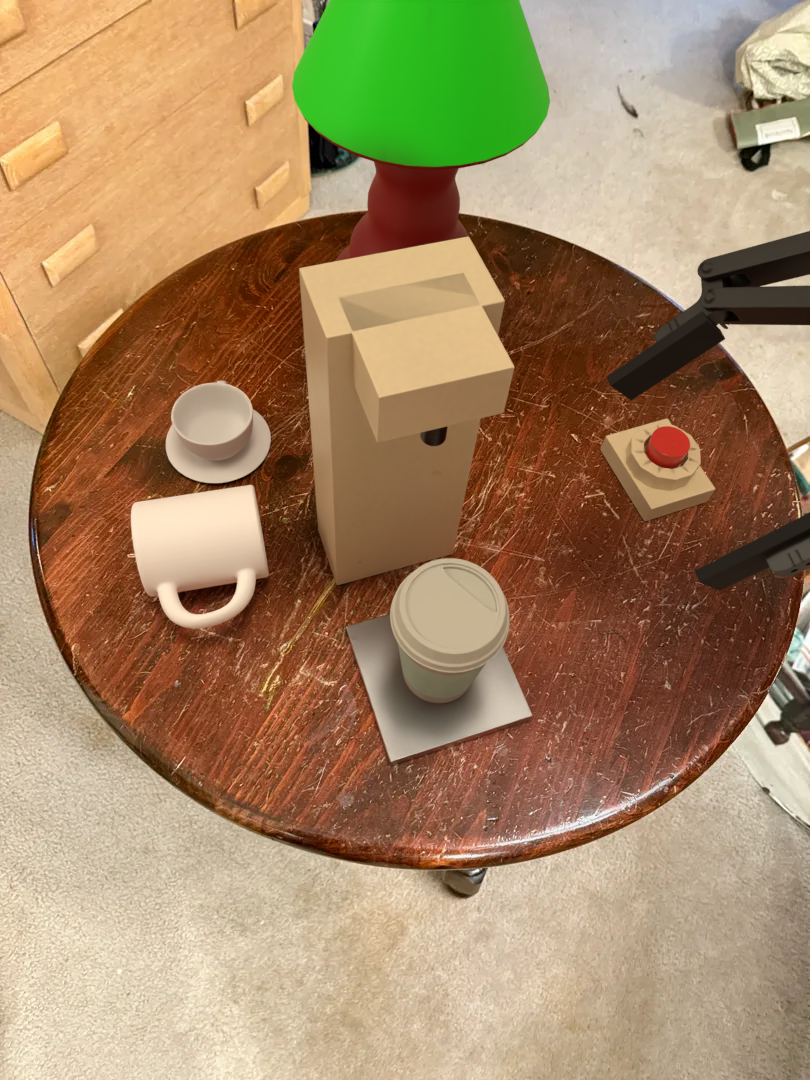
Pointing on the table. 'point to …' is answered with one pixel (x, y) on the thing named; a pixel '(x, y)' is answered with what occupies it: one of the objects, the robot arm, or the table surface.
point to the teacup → (216, 434)
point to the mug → (199, 549)
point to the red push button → (667, 447)
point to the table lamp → (420, 104)
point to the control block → (656, 473)
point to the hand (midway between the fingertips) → (659, 479)
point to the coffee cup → (447, 626)
